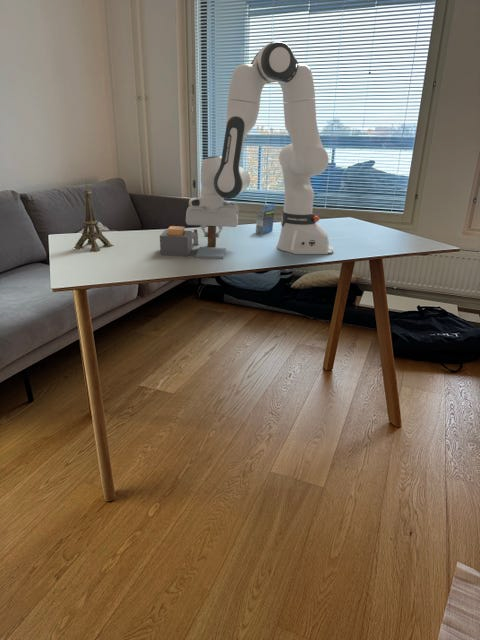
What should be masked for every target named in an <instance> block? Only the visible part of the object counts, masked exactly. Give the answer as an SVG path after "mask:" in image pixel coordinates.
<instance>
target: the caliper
mask: <svg viewBox="0 0 480 640" xmlns="http://www.w3.org/2000/svg"><path fill="white" fill-rule="evenodd" d="M192 241H193V245H195V246H199V233H198V229H193V231H192Z"/></svg>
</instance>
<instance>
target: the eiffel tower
mask: <svg viewBox="0 0 480 640" xmlns="http://www.w3.org/2000/svg"><path fill="white" fill-rule="evenodd" d="M85 181H86V183H85V184H86V189H85V190H83V194H85V206H84V207H85V213H84V217H85V218H84V220H83V221H82V222H83V224H84V227H83V231H82V232H81V236H80V238H79V239H78V240H77V242H76V243H75V245H74V247H73V248H75V249H74V250H81V249H80V248H82V249H84V246H83V245H84V244H85V245H90V244H91V248H90V250H89V252H92V251H93V252H95V253H97V252H100V250H101V249H100V246H99V245H98V242H97V241H96V240H97V239H98V240H99V241H100V242H102V244H103V245H102V246H103V247H104V248H111V247H114V244H112V243H111V242H110V241H109V240H108V238H106V236H104V235H103V231H101V230H100V229H101V228H99V225H98V223H99V220H98V219H96V214H95V210H94V206H93V201H92V197H91V194H92V193H93V192H92V190H91V189H89V187H88V182H87V179H85ZM86 241H87V242H86ZM85 242H86V243H85ZM93 252H92V253H93Z"/></svg>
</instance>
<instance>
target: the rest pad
mask: <svg viewBox="0 0 480 640" xmlns="http://www.w3.org/2000/svg"><path fill="white" fill-rule="evenodd" d="M226 251H227V248H226V247H208V246H199V248H198V250H197V252H196V254H195V258H201V259H203V258H204V259H224V257H225V254H226Z"/></svg>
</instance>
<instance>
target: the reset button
mask: <svg viewBox="0 0 480 640" xmlns="http://www.w3.org/2000/svg"><path fill="white" fill-rule="evenodd" d="M167 230H168V235H182V236H183V235H184V231H185V226H179V225H177V226H175V225H170V226H169V227H168V228H167Z"/></svg>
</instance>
